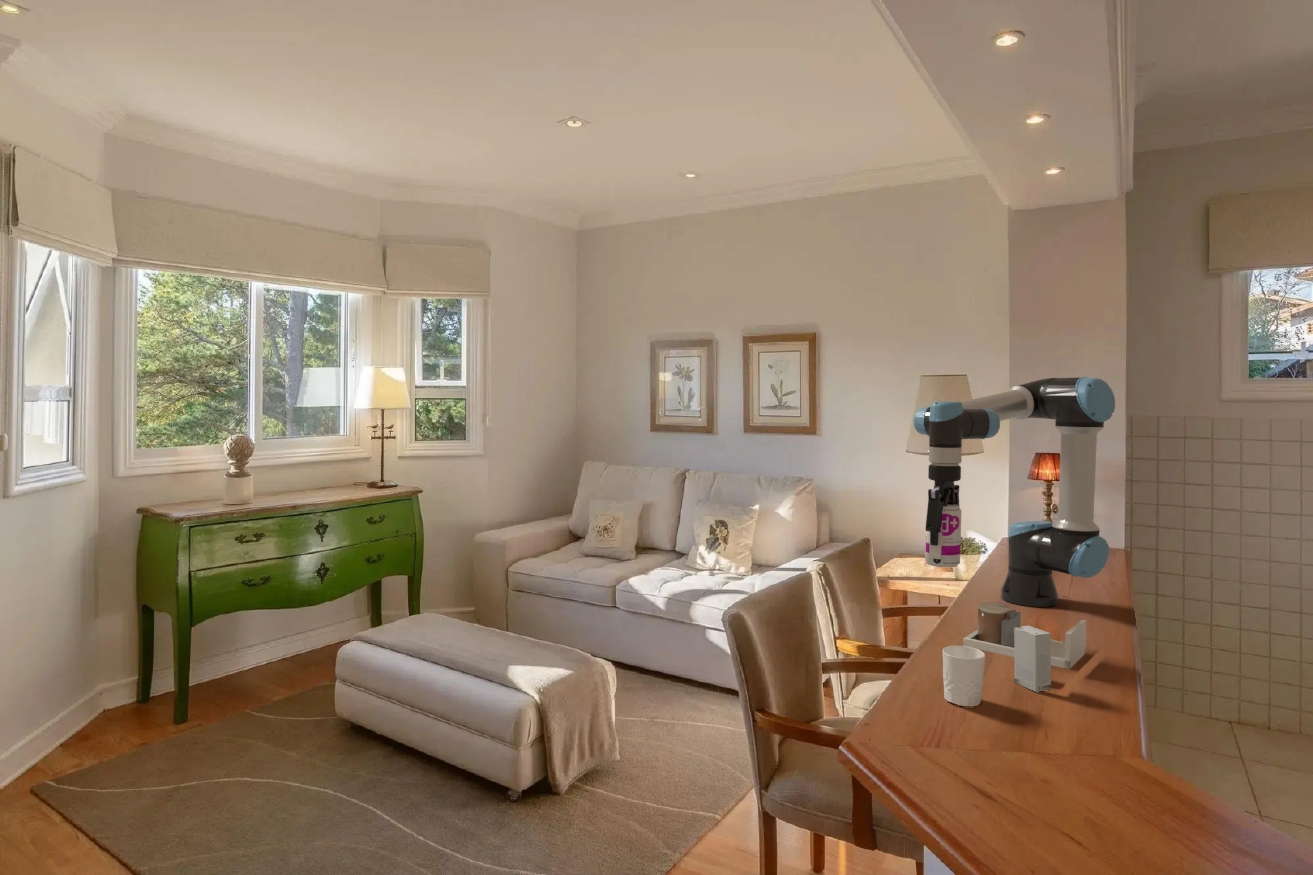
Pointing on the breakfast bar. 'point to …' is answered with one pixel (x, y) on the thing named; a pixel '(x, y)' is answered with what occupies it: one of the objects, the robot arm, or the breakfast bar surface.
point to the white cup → (963, 674)
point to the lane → (1060, 651)
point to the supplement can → (947, 538)
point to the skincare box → (1032, 658)
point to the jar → (991, 621)
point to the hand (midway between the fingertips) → (942, 555)
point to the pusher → (1010, 628)
